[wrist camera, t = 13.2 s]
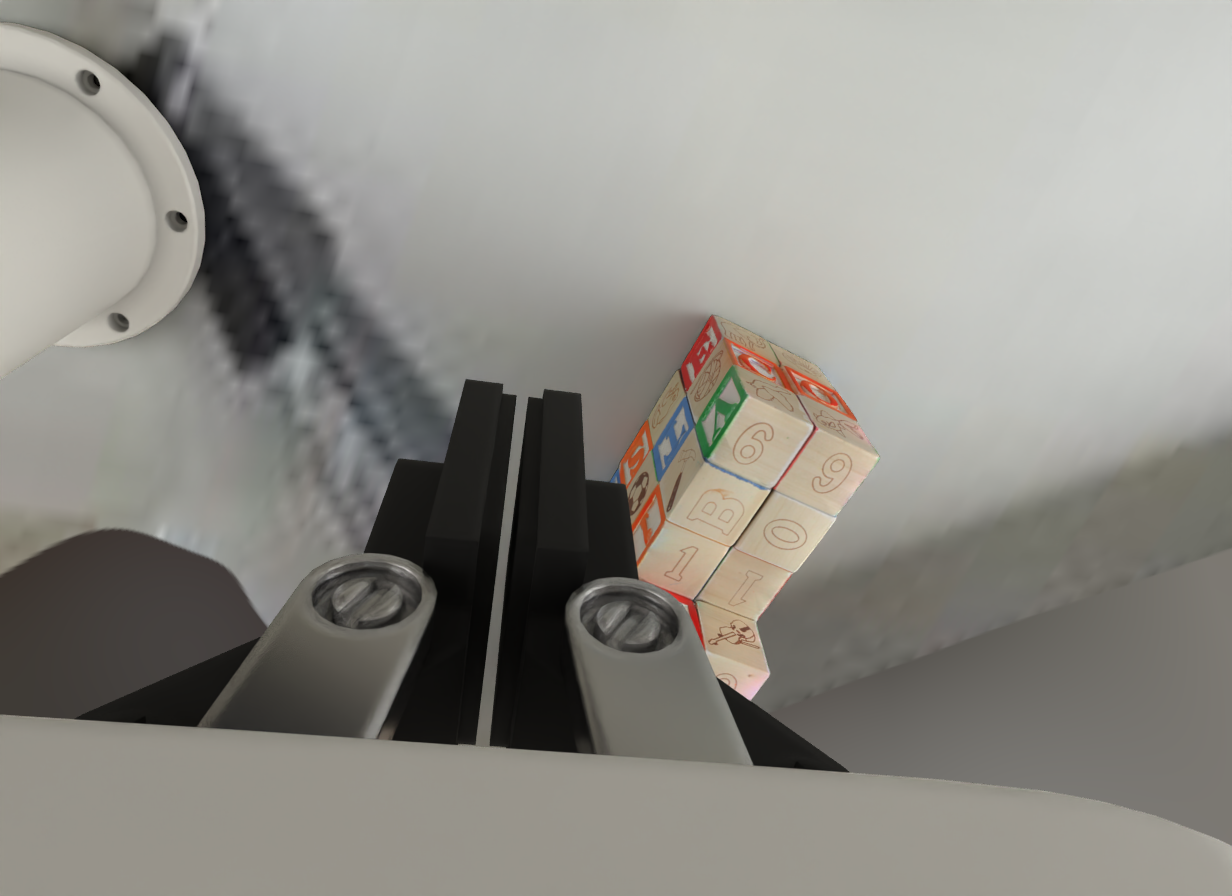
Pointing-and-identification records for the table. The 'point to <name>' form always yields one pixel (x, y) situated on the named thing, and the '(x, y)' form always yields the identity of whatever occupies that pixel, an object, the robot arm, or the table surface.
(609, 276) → the table surface
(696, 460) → the stack of blocks
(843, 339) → the table surface
